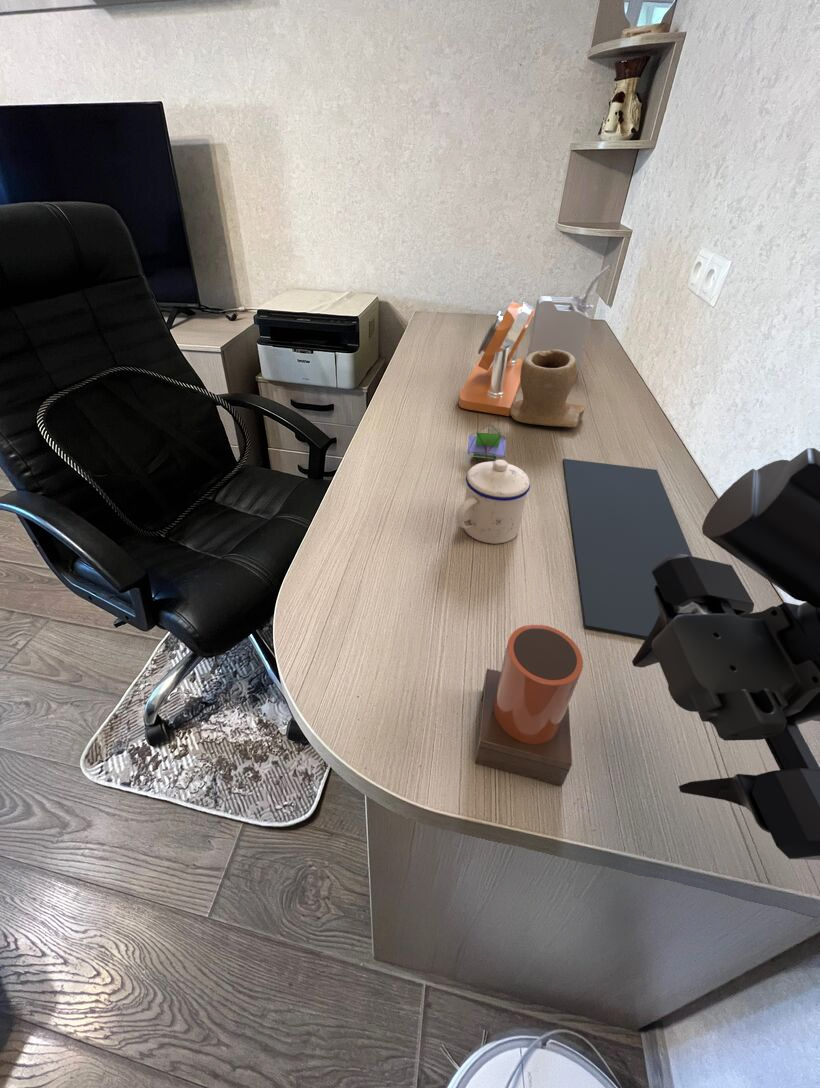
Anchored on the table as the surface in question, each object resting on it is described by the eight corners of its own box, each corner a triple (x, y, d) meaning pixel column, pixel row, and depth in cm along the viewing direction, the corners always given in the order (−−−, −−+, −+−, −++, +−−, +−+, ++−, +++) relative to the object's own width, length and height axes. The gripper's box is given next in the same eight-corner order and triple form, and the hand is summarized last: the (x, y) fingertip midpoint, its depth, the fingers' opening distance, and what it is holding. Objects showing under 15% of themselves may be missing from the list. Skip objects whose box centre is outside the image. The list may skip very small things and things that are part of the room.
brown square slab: (562, 786, 46) (572, 764, 44) (474, 763, 48) (480, 741, 46) (559, 708, 52) (567, 686, 50) (482, 690, 54) (487, 667, 52)
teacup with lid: (488, 502, 82) (498, 440, 76) (532, 530, 76) (547, 466, 70) (433, 529, 77) (439, 464, 70) (476, 562, 71) (487, 495, 64)
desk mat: (729, 655, 58) (732, 651, 58) (584, 628, 61) (585, 625, 61) (655, 472, 90) (656, 469, 89) (562, 461, 93) (563, 458, 93)
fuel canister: (584, 366, 132) (611, 264, 118) (588, 373, 128) (615, 268, 114) (525, 362, 134) (543, 262, 120) (526, 369, 130) (546, 266, 116)
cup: (570, 708, 48) (594, 649, 43) (542, 758, 44) (565, 699, 39) (511, 672, 51) (527, 612, 46) (481, 715, 48) (494, 656, 42)
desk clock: (528, 369, 130) (543, 288, 119) (510, 418, 107) (528, 323, 96) (481, 363, 134) (491, 284, 122) (454, 409, 111) (464, 317, 99)
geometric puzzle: (505, 467, 87) (511, 422, 87) (465, 463, 88) (471, 418, 88) (501, 471, 94) (506, 429, 94) (464, 467, 95) (469, 425, 95)
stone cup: (506, 429, 103) (518, 359, 95) (511, 405, 112) (522, 339, 104) (584, 440, 99) (604, 368, 91) (582, 415, 108) (600, 347, 100)
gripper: (679, 486, 32) (541, 600, 43) (879, 834, 20) (615, 870, 31) (803, 519, 35) (644, 618, 46) (1044, 841, 23) (749, 872, 34)
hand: (658, 722), depth 39 cm, fingers open, 9 cm apart
